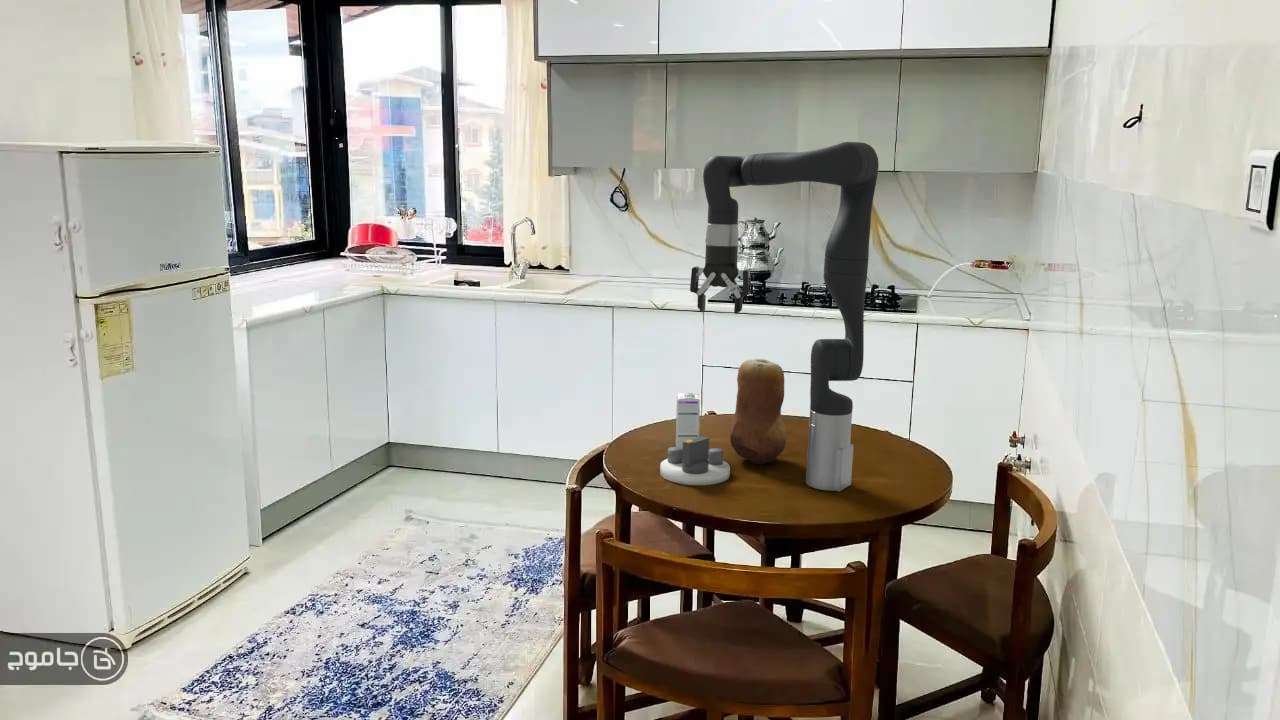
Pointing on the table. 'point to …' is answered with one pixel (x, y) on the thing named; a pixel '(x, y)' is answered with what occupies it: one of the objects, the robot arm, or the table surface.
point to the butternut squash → (759, 412)
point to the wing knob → (696, 455)
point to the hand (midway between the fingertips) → (719, 312)
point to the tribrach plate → (715, 474)
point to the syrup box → (687, 417)
